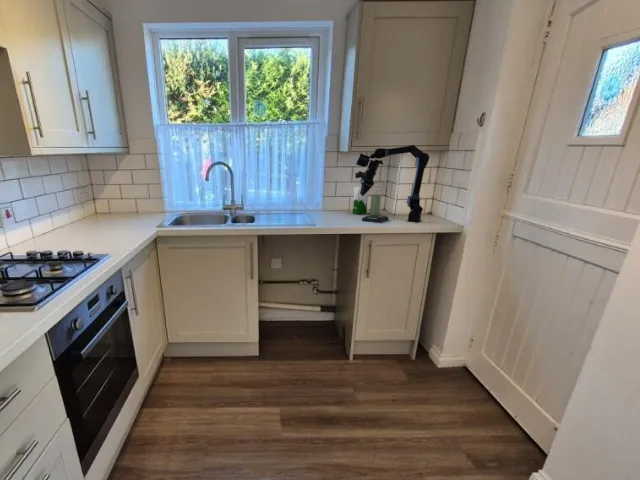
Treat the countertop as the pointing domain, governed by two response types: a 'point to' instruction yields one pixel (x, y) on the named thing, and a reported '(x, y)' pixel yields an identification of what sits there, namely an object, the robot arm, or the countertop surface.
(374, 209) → the tumbler
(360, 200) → the milk carton
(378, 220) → the scale
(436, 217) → the countertop surface
